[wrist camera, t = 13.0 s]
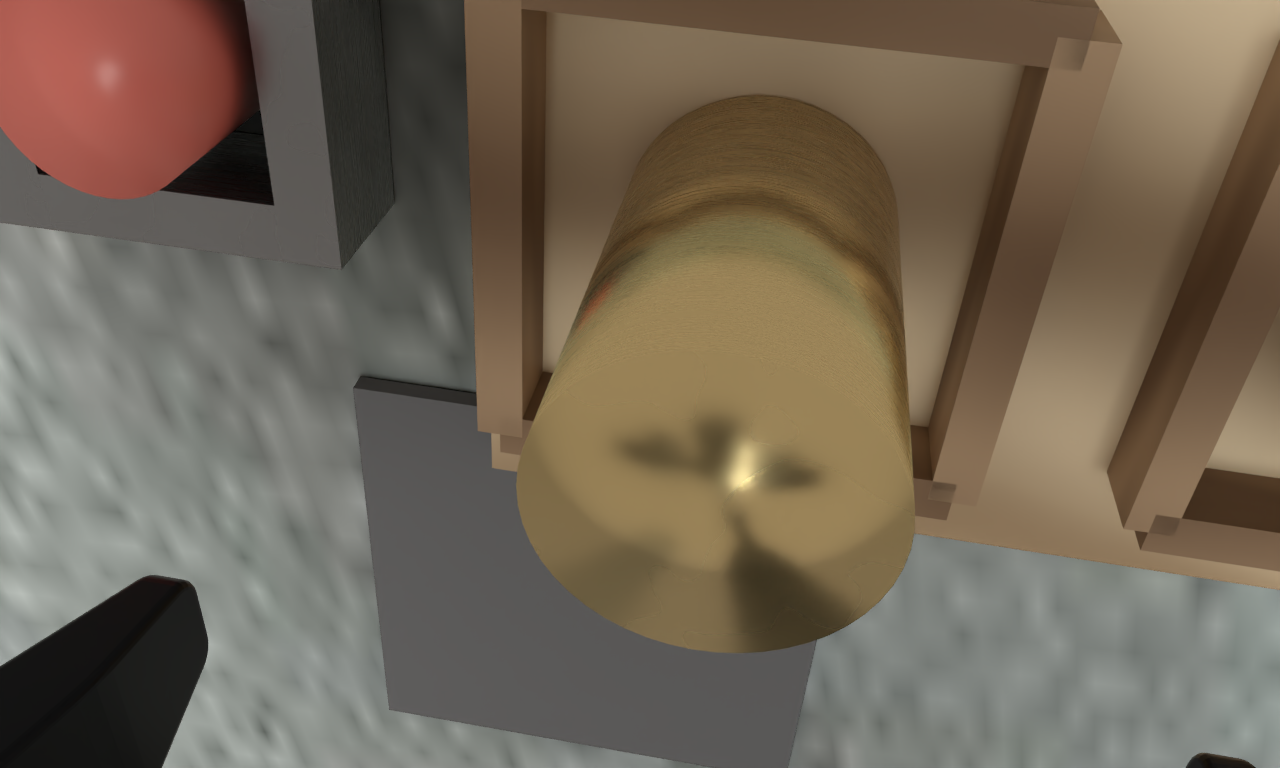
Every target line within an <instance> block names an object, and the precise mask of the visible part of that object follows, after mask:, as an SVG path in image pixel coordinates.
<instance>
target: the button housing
mask: <svg viewBox="0 0 1280 768" xmlns="http://www.w3.org/2000/svg"><path fill="white" fill-rule="evenodd" d="M244 1H245V8H246V15H247V21H248V28H249V35H250V42H251V49H252V56H253V63H254V69H255V76H256V83H257V90H258V97H259V104H260V110H261V117H262V124H263V131H264V135H257V134H249V133H241V132H234V131H233V132H232V133H231V134H230V135H228V136H227V137H226V138H225V139H223V140H222V141H221V142H220V143H218V144H217V145H216V146H215V147H214V148H212V149H211V150H210V151H209V152H207V153H206V154H205V155H204V156H202V157H201V158H200V159H199V160H198V161H196V162H195V163H194V164H193V165H191V166H190V167H189V168H188V169H186V170H185V171H184V172H183V173H182V174H180V175H179V176H178V177H177V178H175V179H174V180H173V181H172V182H170V183H169V184H168V185H167V186H165V187H164V188H162V189H160V190H159V191H157V192H155V193H152V194H150V195H147V196H144V197H139V198H134V199H110V198H104V197H99V196H94V195H91V194H88V193H85V192H82V191H79V190H77V189H75V188H72V187H70V186H68V185H66V184H64V183H62V182H60V181H59V180H57V179H55V178H53V177H52V176H50V175H49V174H47V173H46V172H44V171H43V170H42V169H40V168H39V167H38V166H37V165H35V164H34V163H33V162H32V161H30V160H29V159H28V158H27V157H26V156H25V155H24V154H23V153H22V152H21V151H20V150H19V149H18V148H17V147H16V146H15V145H14V144H13V142H12V141H11V140H10V139H9V138H8V137H7V135H6V134H5V133H4V131H3V130H2V129H1V127H0V223H8V224H15V225H22V226H29V227H37V228H44V229H51V230H58V231H65V232H73V233H80V234H87V235H94V236H102V237H109V238H116V239H123V240H130V241H138V242H145V243H152V244H159V245H167V246H174V247H181V248H188V249H195V250H203V251H210V252H217V253H224V254H232V255H239V256H246V257H253V258H260V259H268V260H275V261H282V262H289V263H296V264H304V265H311V266H318V267H325V268H333V269H340V270H342V268H343V267H344V266H345V265H346V263H347V262H348V261H349V260H350V258H351V257H352V256H353V255H354V253H355V252H356V251H357V250H358V248H359V247H360V246H361V245H362V243H363V242H364V241H365V240H366V238H367V237H368V236H369V235H370V233H371V232H372V231H373V230H374V228H375V227H376V226H377V225H378V223H379V222H380V221H381V220H382V218H383V217H384V216H385V215H386V213H387V212H388V211H389V210H390V208H391V207H392V206H393V205H394V190H393V176H392V163H391V150H390V137H389V124H388V111H387V98H386V84H385V71H384V58H383V45H382V32H381V19H380V5H379V0H244Z"/></svg>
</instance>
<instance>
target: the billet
mask: <svg viewBox="0 0 1280 768" xmlns="http://www.w3.org/2000/svg"><path fill="white" fill-rule="evenodd" d="M516 490H517V501H518V508H519V512H520V516H521V520H522V524H523V526H524V529H525V531H526V533H527V536H528V538H529V541H530V543H531V544H532V546H533V548H534V549H535V551H536V553H537V555H538V556H539V558H540V560H541V561H542V562H543V563H544V565H545V566H546V567H547V569H548V570H549V571H550V572H551V574H552V575H553V576H554V577H555V578H556V579H557V580H558V581H559V582H560V583H561V584H562V585H563V586H564V587H565V588H566V589H567V590H568V591H569V592H570V593H571V594H572V595H573V596H575V597H576V598H577V599H578V600H580V601H581V602H582V603H583V604H585V605H586V606H587V607H589V608H590V609H592V610H593V611H595V612H596V613H598V614H600V615H601V616H603V617H604V618H606V619H608V620H610V621H612V622H614V623H615V624H617V625H619V626H621V627H623V628H625V629H627V630H630V631H632V632H635V633H637V634H640V635H642V636H644V637H647V638H650V639H653V640H657V641H660V642H663V643H666V644H670V645H674V646H679V647H683V648H688V649H693V650H701V651H709V652H719V653H754V652H766V651H773V650H780V649H786V648H790V647H794V646H798V645H802V644H806V643H809V642H812V641H814V640H817V639H820V638H823V637H825V636H828V635H830V634H832V633H834V632H836V631H838V630H840V629H842V628H844V627H846V626H848V625H849V624H851V623H852V622H854V621H855V620H857V619H858V618H860V617H861V616H863V615H864V614H866V613H867V612H868V611H869V610H870V609H871V608H872V607H874V606H875V605H876V604H877V603H878V602H879V601H880V600H881V599H882V598H883V597H884V596H885V594H886V593H887V592H888V591H889V590H890V588H891V587H892V586H893V585H894V583H895V582H896V580H897V578H898V577H899V575H900V573H901V572H902V570H903V568H904V566H905V563H906V561H907V558H908V556H909V553H910V551H911V546H912V541H913V536H914V531H915V500H914V483H913V465H912V448H911V430H910V412H909V395H908V377H907V360H906V342H905V324H904V307H903V289H902V272H901V254H900V237H899V219H898V208H897V202H896V196H895V192H894V189H893V186H892V182H891V179H890V177H889V175H888V173H887V171H886V169H885V167H884V164H883V163H882V161H881V160H880V158H879V157H878V155H877V154H876V152H875V151H874V149H873V148H872V147H871V146H870V145H869V144H868V143H867V141H866V140H865V139H864V138H863V137H862V136H861V135H860V134H859V133H858V132H856V131H855V130H854V129H853V128H852V127H851V126H849V125H848V124H847V123H845V122H844V121H842V120H841V119H839V118H838V117H836V116H834V115H833V114H831V113H829V112H827V111H825V110H823V109H821V108H819V107H816V106H814V105H811V104H808V103H805V102H802V101H799V100H795V99H790V98H784V97H779V96H765V95H752V96H739V97H733V98H728V99H723V100H719V101H716V102H713V103H710V104H707V105H704V106H702V107H700V108H698V109H696V110H694V111H692V112H689V113H687V114H686V115H684V116H683V117H681V118H680V119H678V120H677V121H675V122H674V123H672V124H671V125H670V126H669V127H667V128H666V129H665V130H664V131H663V132H662V133H661V134H660V135H658V137H657V138H656V139H655V140H654V141H653V142H652V144H651V145H650V146H649V147H648V148H647V150H646V151H645V153H644V154H643V156H642V158H641V159H640V161H639V162H638V164H637V167H636V169H635V171H634V173H633V176H632V178H631V180H630V183H629V185H628V188H627V190H626V193H625V195H624V198H623V200H622V203H621V205H620V208H619V210H618V213H617V215H616V218H615V220H614V222H613V225H612V227H611V230H610V232H609V235H608V237H607V240H606V242H605V245H604V247H603V250H602V252H601V255H600V257H599V260H598V262H597V265H596V267H595V270H594V272H593V275H592V277H591V280H590V282H589V285H588V287H587V290H586V292H585V295H584V297H583V299H582V302H581V304H580V307H579V309H578V312H577V314H576V317H575V319H574V322H573V324H572V327H571V329H570V332H569V334H568V337H567V339H566V342H565V344H564V347H563V349H562V352H561V354H560V357H559V359H558V362H557V364H556V367H555V369H554V372H553V374H552V376H551V379H550V381H549V384H548V386H547V389H546V391H545V394H544V396H543V399H542V401H541V404H540V406H539V409H538V411H537V414H536V416H535V419H534V421H533V424H532V426H531V429H530V431H529V434H528V436H527V439H526V441H525V444H524V446H523V449H522V453H521V456H520V460H519V464H518V470H517V482H516Z"/></svg>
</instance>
